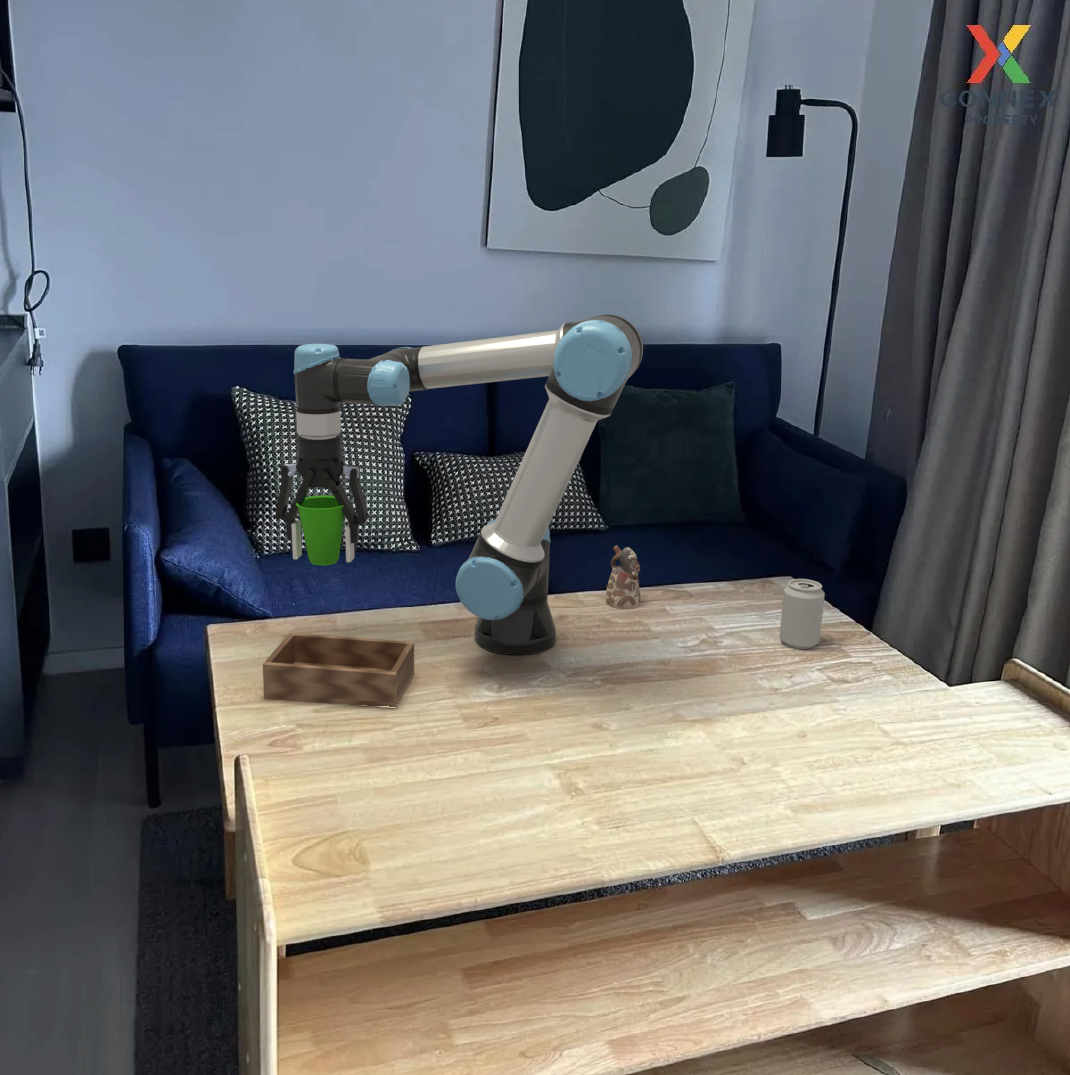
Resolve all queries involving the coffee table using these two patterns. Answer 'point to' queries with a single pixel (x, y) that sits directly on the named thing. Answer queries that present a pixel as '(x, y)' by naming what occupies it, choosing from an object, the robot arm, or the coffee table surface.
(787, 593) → the can
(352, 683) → the tray
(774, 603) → the coffee table surface
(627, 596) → the figurine
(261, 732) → the coffee table surface
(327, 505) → the cup
